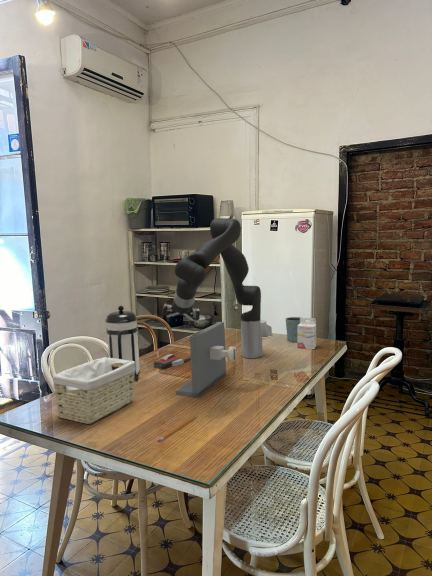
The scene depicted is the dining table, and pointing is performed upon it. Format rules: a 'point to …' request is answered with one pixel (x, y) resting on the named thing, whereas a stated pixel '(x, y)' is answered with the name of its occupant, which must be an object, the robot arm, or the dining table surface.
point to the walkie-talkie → (169, 361)
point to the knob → (229, 353)
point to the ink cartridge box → (306, 334)
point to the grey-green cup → (292, 328)
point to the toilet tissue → (265, 329)
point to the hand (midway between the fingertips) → (179, 321)
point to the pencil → (176, 429)
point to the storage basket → (94, 389)
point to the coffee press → (123, 337)
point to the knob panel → (205, 360)
